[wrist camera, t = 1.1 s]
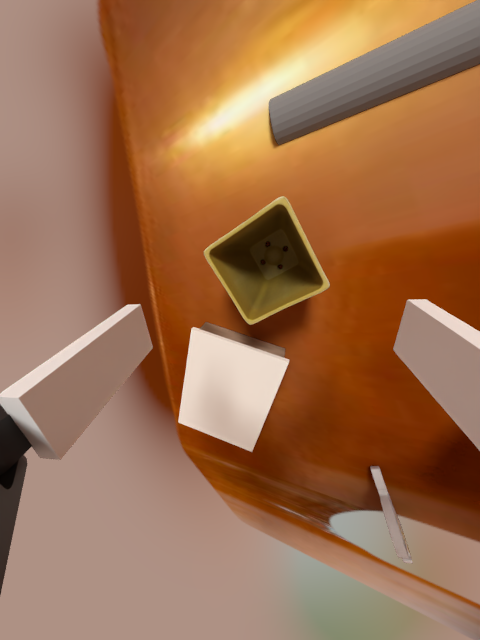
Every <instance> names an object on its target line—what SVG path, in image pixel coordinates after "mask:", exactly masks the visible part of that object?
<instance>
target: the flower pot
mask: <svg viewBox="0 0 480 640" xmlns="http://www.w3.org/2000/svg"><path fill="white" fill-rule="evenodd" d="M266 242H270V246H266ZM285 246H287V247H288V250H287V251H284V250H283V248H284V247H285ZM204 256H205V258H206V260H207V261H208V263H209V264H210V266H211V268H212V269H213V271H214V272H215V274H216V275H217V277H218V278H219V280H220V281H221V283H222V285H223V286H224V288H225V289H226V291H227V293H228V294H229V296H230V297H231V299H232V301H233V302H234V304H235V306H236V307H237V309H238V310H239V312H240V314H241V315H242V317H243V319H244V320H245V321H246V322H247V323H248V324H249V325H252V324H255V323H257V322H259V321H261V320H263V319H265V318H267V317H269V316H271V315H273V314H275V313H277V312H279V311H281V310H283V309H285V308H287V307H289V306H292V305H294V304H296V303H298V302H301V301H303V300H305V299H307V298H310V297H312V296H314V295H317V294H319V293H321V292H323V291H325V290H326V289H328V288H329V287H330V283H329V281H328V279H327V277H326V275H325V273H324V271H323V269H322V267H321V265H320V263H319V262H318V260H317V258H316V256H315V254H314V252H313V250H312V247H311V245H310V243H309V241H308V239H307V237H306V235H305V233H304V231H303V229H302V227H301V225H300V223H299V221H298V219H297V217H296V215H295V213H294V211H293V209H292V207H291V205H290V203H289V201H288V199H287V198H286V197H284V196H282V197H279V198H277V199H276V200H274V201H273V202H271V203H270V204H269V205H267V206H266V207H265V208H263V209H262V210H260V211H259V212H258V213H256V214H255V215H253V216H252V217H251V218H249V219H248V220H246V221H245V222H243V223H242V224H240V225H239V226H238V227H236V228H235V229H233V230H232V231H231V232H229V233H228V234H226V235H225V236H223V237H222V238H220V239H219V240H217V241H216V242H214V243H213V244H211V245H210V246H209V247H207V248H206V249H205V251H204ZM262 260H265V264H262V263H261V261H262ZM278 265H282V269H279V268H278Z"/></svg>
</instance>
